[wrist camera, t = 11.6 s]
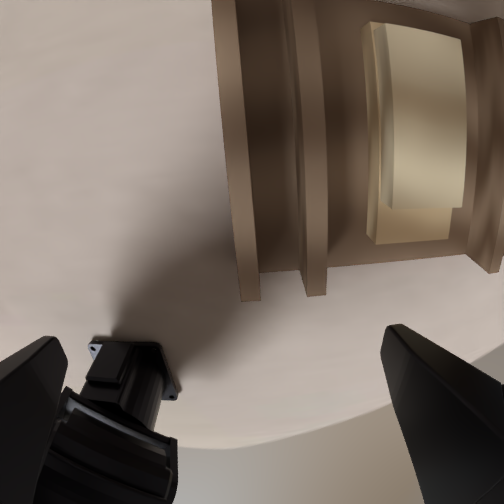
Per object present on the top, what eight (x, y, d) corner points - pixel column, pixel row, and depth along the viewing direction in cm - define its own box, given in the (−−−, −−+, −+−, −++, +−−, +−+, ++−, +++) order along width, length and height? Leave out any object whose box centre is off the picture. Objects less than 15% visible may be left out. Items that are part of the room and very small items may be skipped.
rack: (497, 244, 19) (527, 267, 16) (242, 266, 20) (241, 301, 16) (503, 41, 13) (539, 38, 9) (218, 4, 13) (209, -23, 10)
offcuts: (435, 229, 18) (461, 250, 15) (366, 234, 18) (386, 257, 15) (436, 41, 13) (466, 33, 10) (360, 28, 13) (381, 13, 10)
